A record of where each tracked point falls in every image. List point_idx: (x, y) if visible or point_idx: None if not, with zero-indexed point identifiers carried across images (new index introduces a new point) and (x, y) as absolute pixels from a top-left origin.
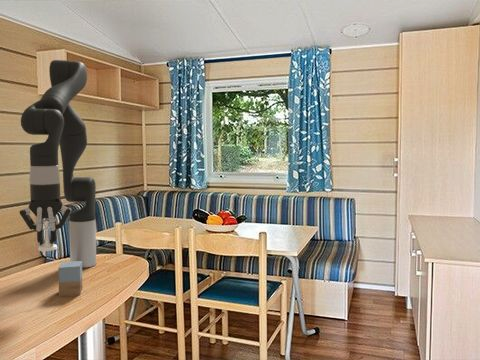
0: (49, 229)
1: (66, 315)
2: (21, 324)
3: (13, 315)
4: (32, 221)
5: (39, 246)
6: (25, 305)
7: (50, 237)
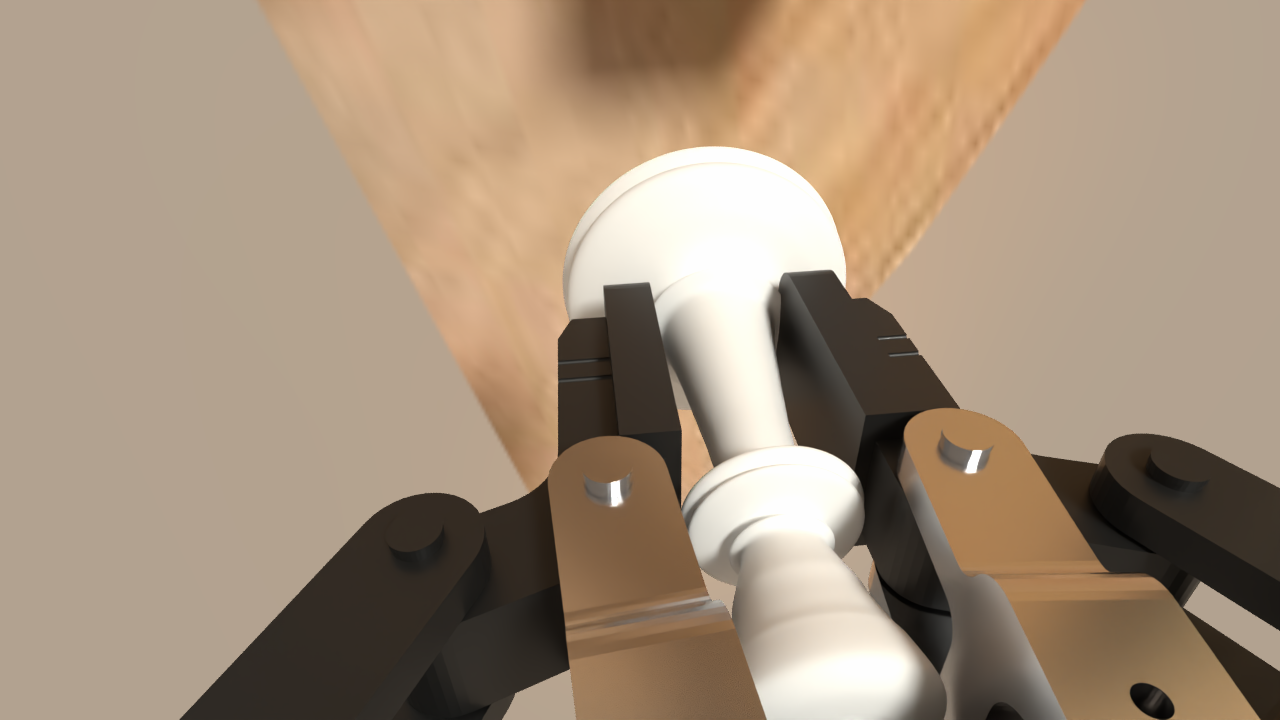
0: (835, 550)
1: None
2: (536, 342)
3: (430, 211)
4: (387, 701)
5: (583, 316)
6: (433, 23)
7: None
